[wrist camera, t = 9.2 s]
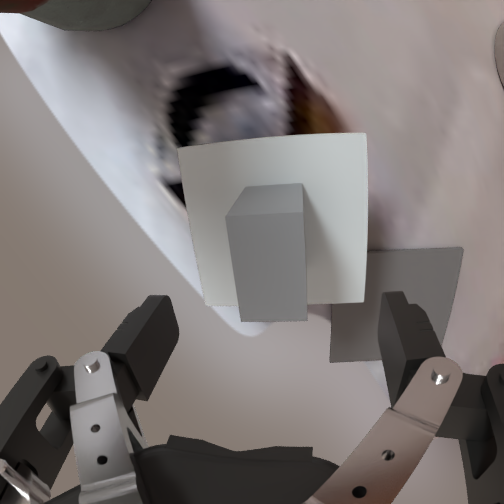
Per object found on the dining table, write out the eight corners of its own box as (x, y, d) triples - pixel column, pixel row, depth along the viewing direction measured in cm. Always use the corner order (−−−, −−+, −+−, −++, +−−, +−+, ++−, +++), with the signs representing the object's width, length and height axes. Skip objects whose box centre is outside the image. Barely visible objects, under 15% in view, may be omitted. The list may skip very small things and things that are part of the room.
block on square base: (363, 132, 15) (393, 143, 10) (362, 296, 19) (377, 357, 14) (180, 147, 17) (133, 165, 12) (208, 301, 21) (182, 358, 16)
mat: (461, 247, 22) (463, 249, 22) (437, 350, 26) (438, 353, 26) (332, 252, 24) (333, 254, 24) (329, 359, 28) (329, 362, 28)
